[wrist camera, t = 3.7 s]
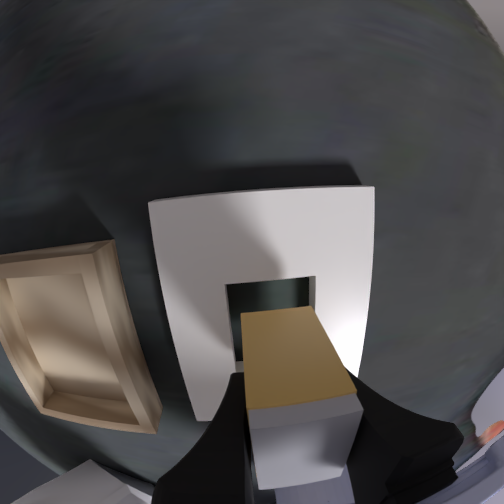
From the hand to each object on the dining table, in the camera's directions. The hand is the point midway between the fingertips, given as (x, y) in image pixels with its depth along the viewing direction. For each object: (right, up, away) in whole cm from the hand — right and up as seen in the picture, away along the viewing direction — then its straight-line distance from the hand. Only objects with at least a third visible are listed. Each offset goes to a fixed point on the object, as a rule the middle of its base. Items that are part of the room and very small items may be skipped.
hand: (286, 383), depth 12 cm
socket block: (0, +2, +6) cm, 6 cm away
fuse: (0, +1, +3) cm, 3 cm away
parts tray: (-15, -1, +5) cm, 16 cm away
